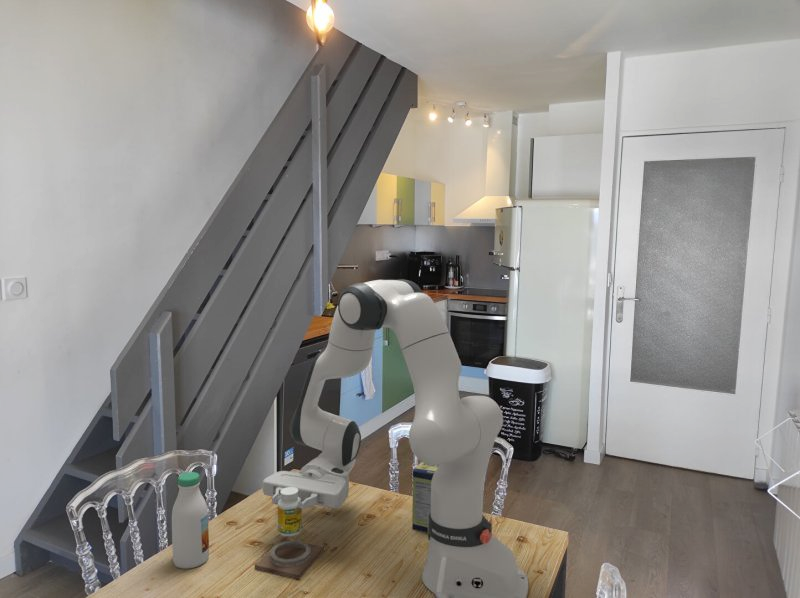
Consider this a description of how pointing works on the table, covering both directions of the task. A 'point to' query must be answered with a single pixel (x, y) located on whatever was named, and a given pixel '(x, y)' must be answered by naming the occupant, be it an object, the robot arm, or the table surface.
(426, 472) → the protein box
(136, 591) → the table surface
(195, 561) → the milk bottle
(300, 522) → the supplement bottle
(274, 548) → the collar board
